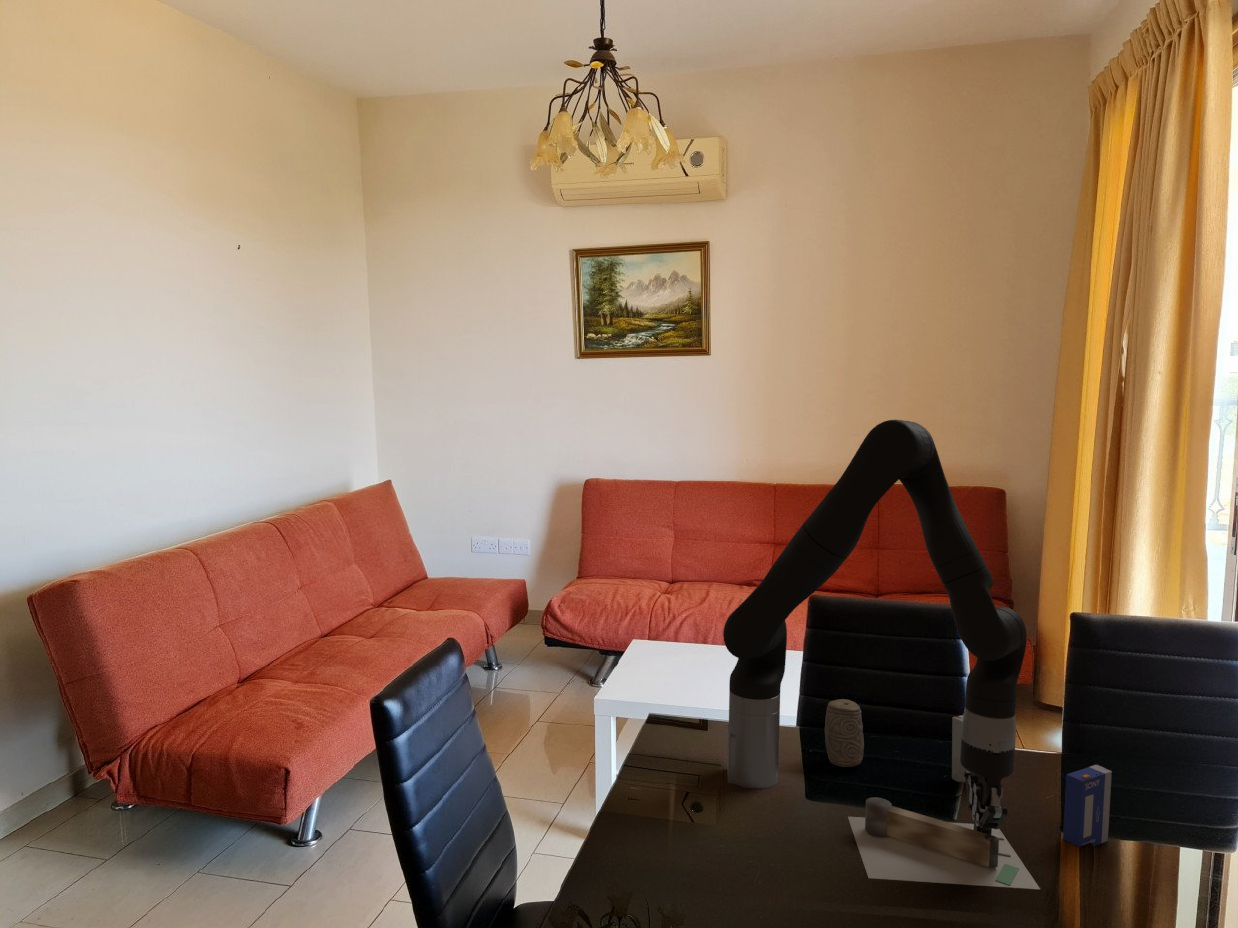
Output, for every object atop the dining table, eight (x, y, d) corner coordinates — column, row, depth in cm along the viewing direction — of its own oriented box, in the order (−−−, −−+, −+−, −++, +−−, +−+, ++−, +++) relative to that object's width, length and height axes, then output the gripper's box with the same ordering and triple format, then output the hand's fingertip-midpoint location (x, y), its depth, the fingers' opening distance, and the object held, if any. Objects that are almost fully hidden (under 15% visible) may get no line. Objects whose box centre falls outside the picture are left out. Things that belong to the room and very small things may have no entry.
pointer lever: (861, 831, 135) (862, 804, 134) (869, 821, 138) (870, 794, 137) (994, 873, 123) (996, 844, 123) (1000, 861, 126) (1001, 832, 126)
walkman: (1078, 852, 131) (1083, 779, 130) (1062, 844, 134) (1066, 771, 133) (1109, 840, 135) (1113, 768, 134) (1092, 832, 137) (1096, 762, 136)
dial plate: (868, 884, 122) (868, 876, 122) (847, 822, 140) (847, 815, 140) (1040, 895, 120) (1040, 887, 120) (996, 830, 138) (997, 824, 138)
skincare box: (992, 789, 152) (996, 725, 151) (973, 793, 151) (976, 728, 150) (968, 775, 158) (970, 712, 157) (949, 778, 156) (951, 715, 155)
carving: (830, 753, 167) (832, 694, 166) (868, 762, 163) (870, 703, 162) (818, 764, 162) (820, 703, 161) (856, 774, 158) (858, 712, 157)
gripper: (950, 719, 134) (944, 822, 136) (976, 755, 121) (969, 869, 123) (998, 722, 134) (992, 826, 135) (1030, 759, 121) (1023, 873, 122)
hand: (981, 846), depth 129 cm, fingers closed
